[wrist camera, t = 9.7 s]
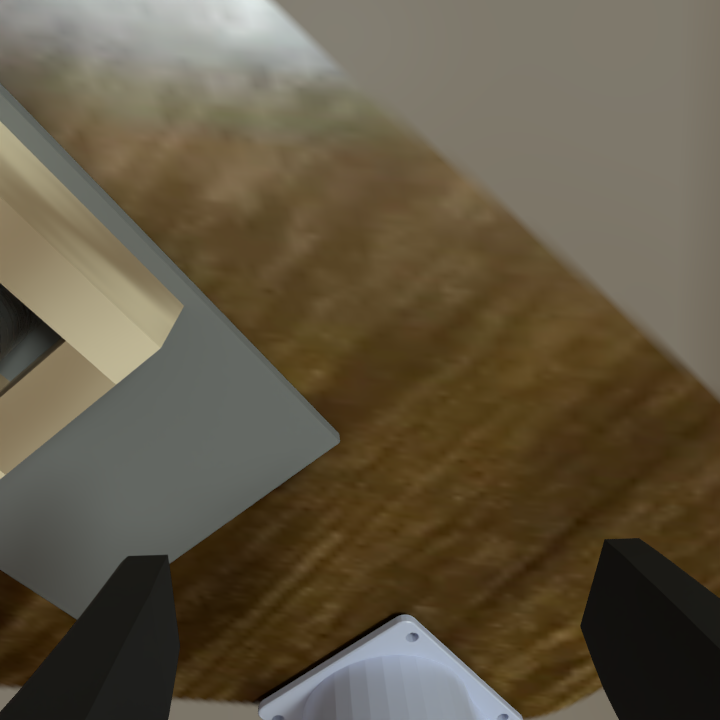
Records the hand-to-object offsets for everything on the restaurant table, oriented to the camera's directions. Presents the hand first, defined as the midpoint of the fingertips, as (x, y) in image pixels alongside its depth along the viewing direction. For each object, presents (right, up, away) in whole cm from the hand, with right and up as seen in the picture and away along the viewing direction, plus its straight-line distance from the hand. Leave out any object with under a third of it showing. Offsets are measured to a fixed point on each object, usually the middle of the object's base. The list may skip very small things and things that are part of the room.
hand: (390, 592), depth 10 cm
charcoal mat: (-10, +3, +8) cm, 13 cm away
